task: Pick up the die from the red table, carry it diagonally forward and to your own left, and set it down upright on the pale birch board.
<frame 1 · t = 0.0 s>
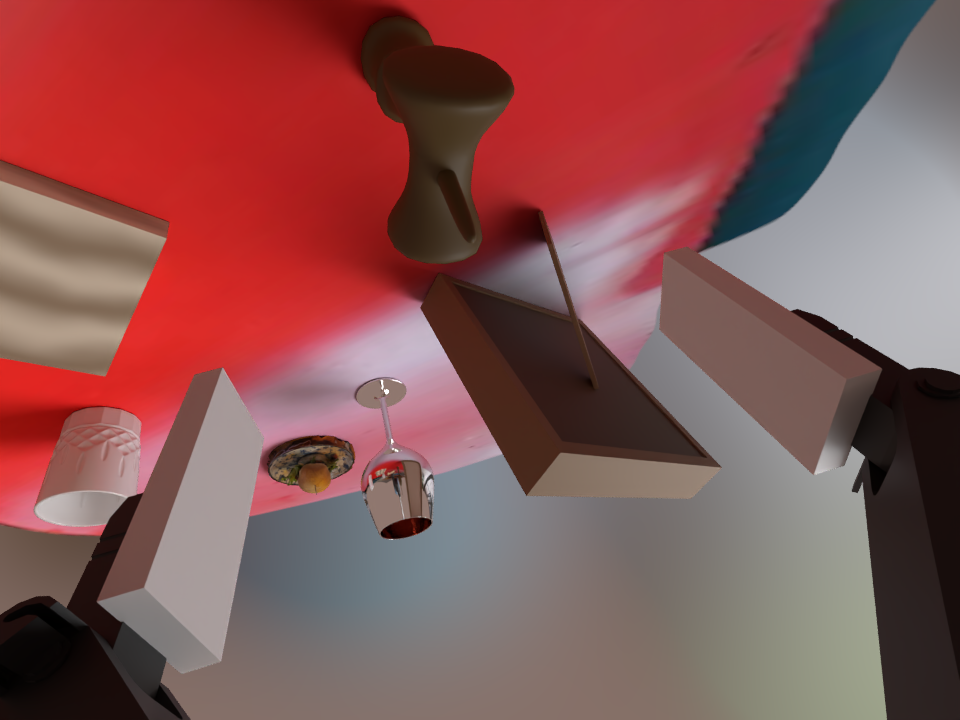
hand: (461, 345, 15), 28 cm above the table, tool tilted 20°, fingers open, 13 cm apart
white cup: (105, 421, 54), on the table
wineglass: (381, 391, 63), on the table
burger: (312, 454, 71), on the table
photo frame: (534, 278, 55), on the table
kendama: (396, 54, 34), on the table
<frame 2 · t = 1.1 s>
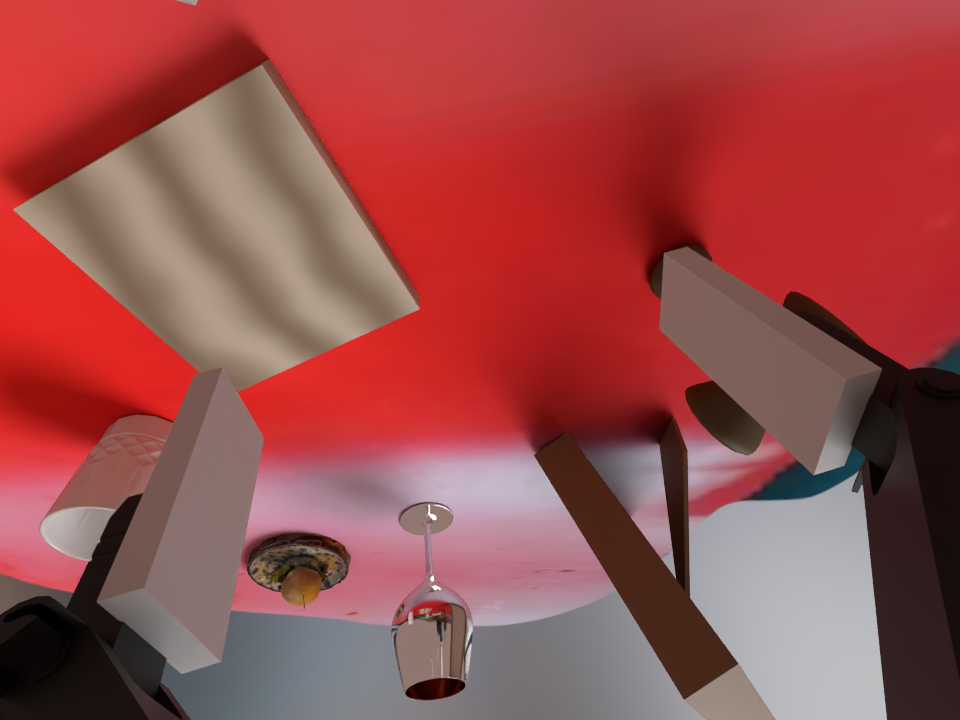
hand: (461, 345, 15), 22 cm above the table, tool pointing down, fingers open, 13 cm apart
white cup: (151, 437, 46), on the table
birch board: (247, 251, 35), on the table
wineglass: (426, 516, 59), on the table
burger: (302, 556, 62), on the table
photo frame: (626, 469, 59), on the table
kendama: (676, 268, 41), on the table
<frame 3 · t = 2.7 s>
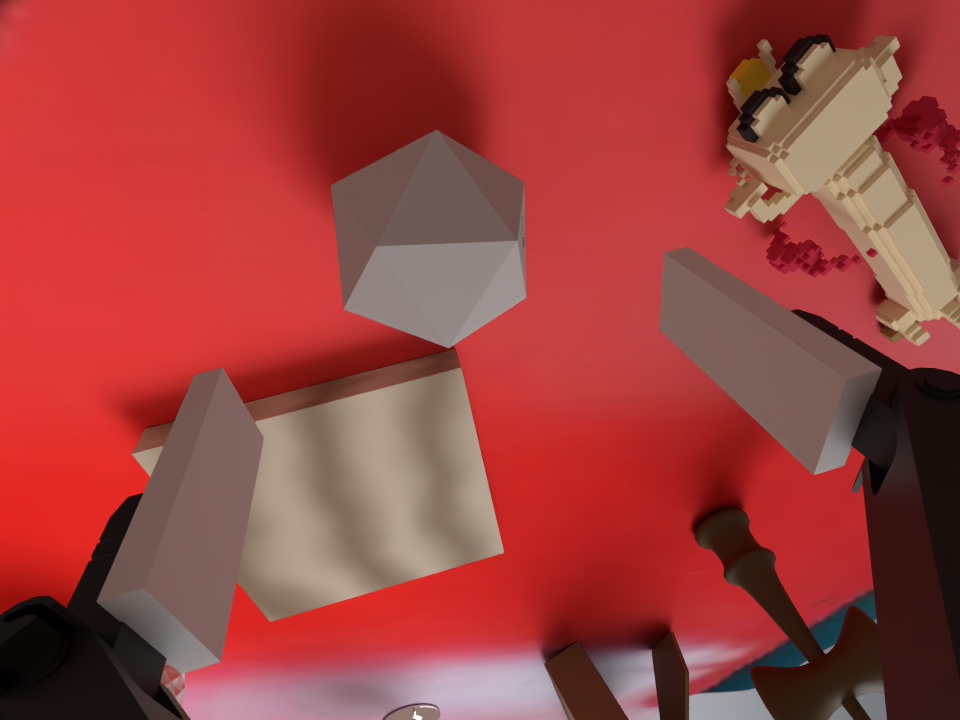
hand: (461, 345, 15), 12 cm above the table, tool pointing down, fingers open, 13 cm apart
white cup: (144, 648, 39), on the table
birch board: (352, 489, 34), on the table
die: (423, 216, 25), on the table
wineglass: (411, 716, 55), on the table
cat figure: (832, 205, 30), on the table
photo frame: (615, 669, 60), on the table
kendama: (715, 520, 46), on the table
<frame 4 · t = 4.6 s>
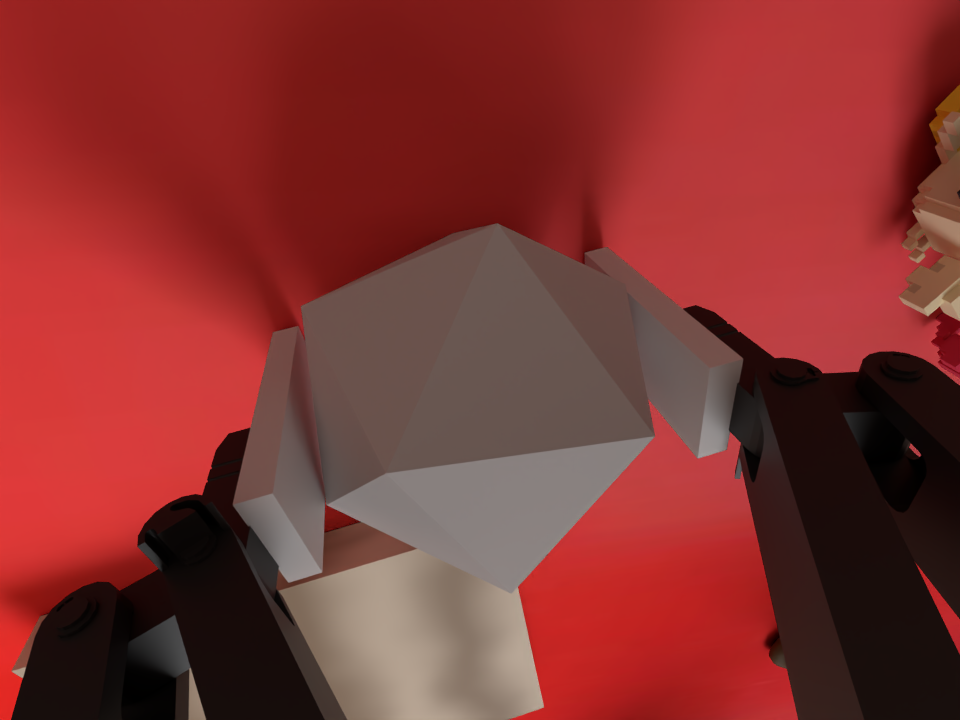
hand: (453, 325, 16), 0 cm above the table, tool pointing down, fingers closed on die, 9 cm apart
birch board: (346, 650, 25), on the table
die: (451, 318, 16), on the table, touching gripper
kendama: (793, 631, 38), on the table
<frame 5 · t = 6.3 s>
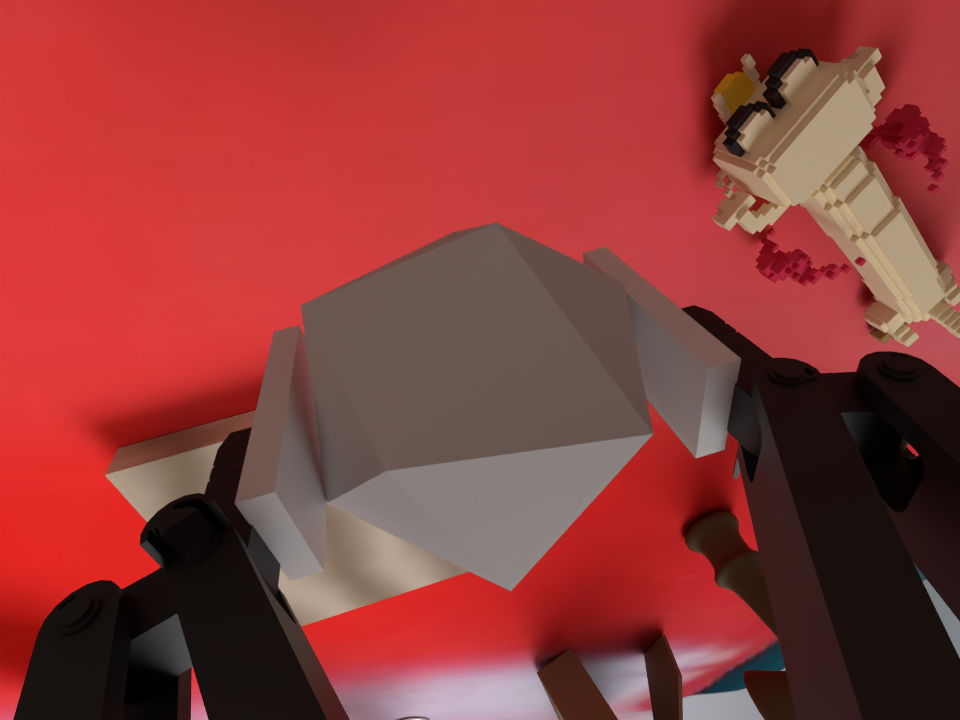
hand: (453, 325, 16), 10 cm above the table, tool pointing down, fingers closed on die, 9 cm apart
birch board: (337, 503, 33), on the table
die: (451, 317, 16), point 10 cm above the table, touching gripper
cat figure: (819, 211, 30), on the table
photo frame: (608, 675, 59), on the table
kendama: (705, 523, 46), on the table
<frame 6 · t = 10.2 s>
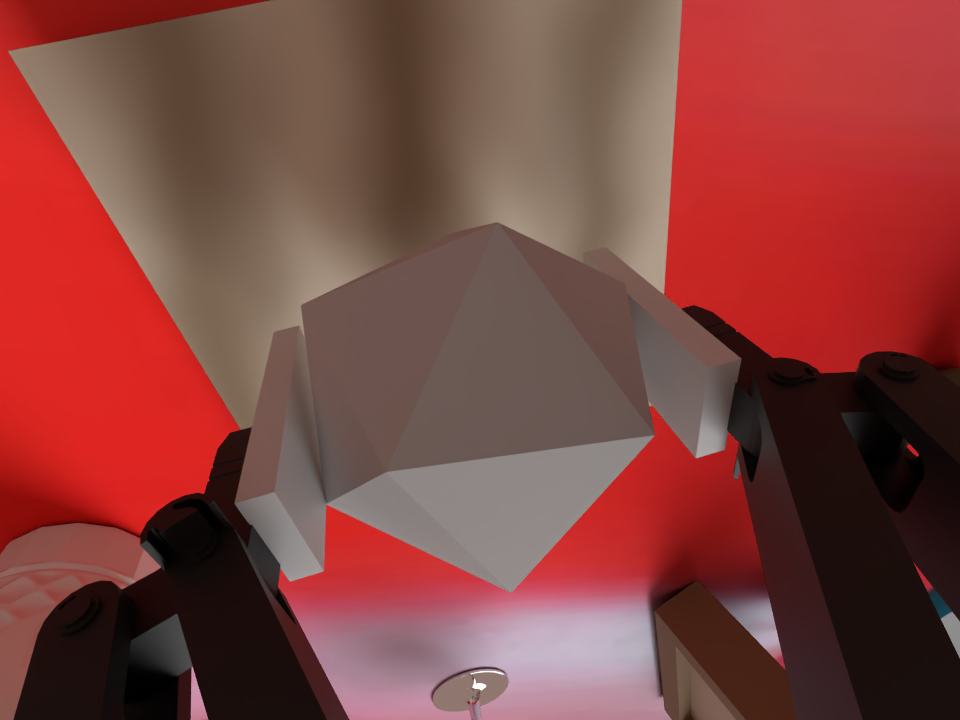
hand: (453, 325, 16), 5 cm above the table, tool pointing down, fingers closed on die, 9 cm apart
white cup: (88, 563, 24), on the table
birch board: (432, 265, 20), on the table
die: (451, 318, 16), point 4 cm above the table, touching gripper
wineglass: (470, 685, 41), on the table
photo frame: (727, 625, 46), on the table
when the fingers open (3 cm above the table, at t = 11.1 s): die drops 1 cm, resting on birch board.
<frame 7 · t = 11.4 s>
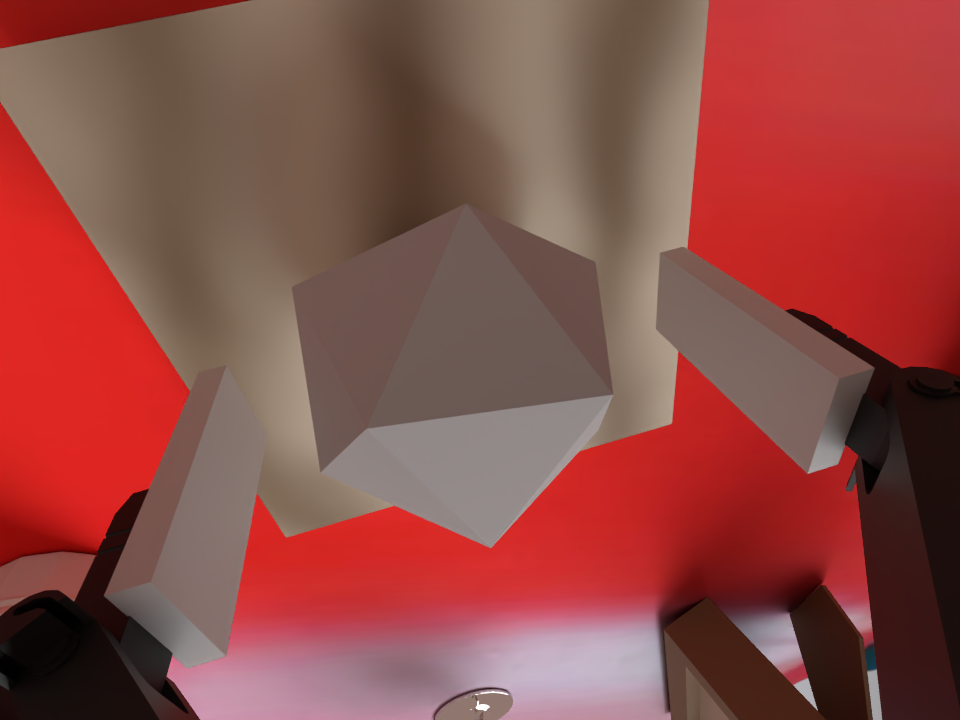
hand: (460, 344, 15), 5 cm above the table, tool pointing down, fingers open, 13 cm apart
white cup: (74, 591, 23), on the table
birch board: (436, 281, 19), on the table
die: (437, 301, 17), point 2 cm above the table, touching birch board
wineglass: (473, 706, 40), on the table
photo frame: (736, 640, 45), on the table
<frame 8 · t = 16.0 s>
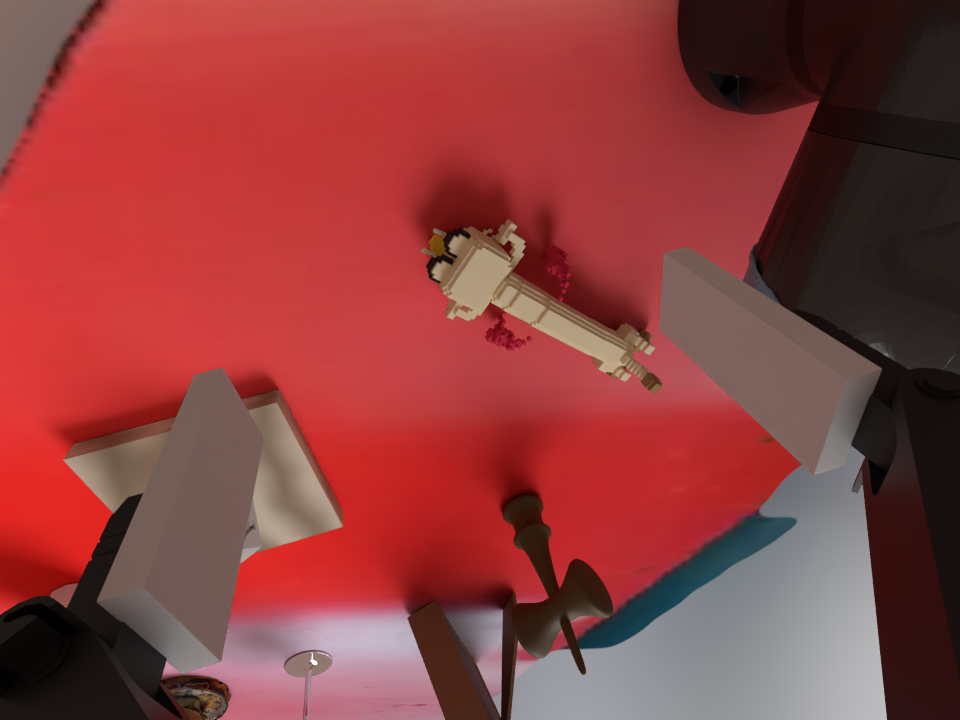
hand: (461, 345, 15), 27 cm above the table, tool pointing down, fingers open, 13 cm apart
white cup: (86, 598, 54), on the table
birch board: (224, 482, 49), on the table
die: (218, 496, 48), point 2 cm above the table, touching birch board
wineglass: (309, 661, 70), on the table
cat figure: (538, 298, 46), on the table
burger: (184, 695, 68), on the table
photo frame: (476, 625, 75), on the table
kendama: (520, 504, 62), on the table
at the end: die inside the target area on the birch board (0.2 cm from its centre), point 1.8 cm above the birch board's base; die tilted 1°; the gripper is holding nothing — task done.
